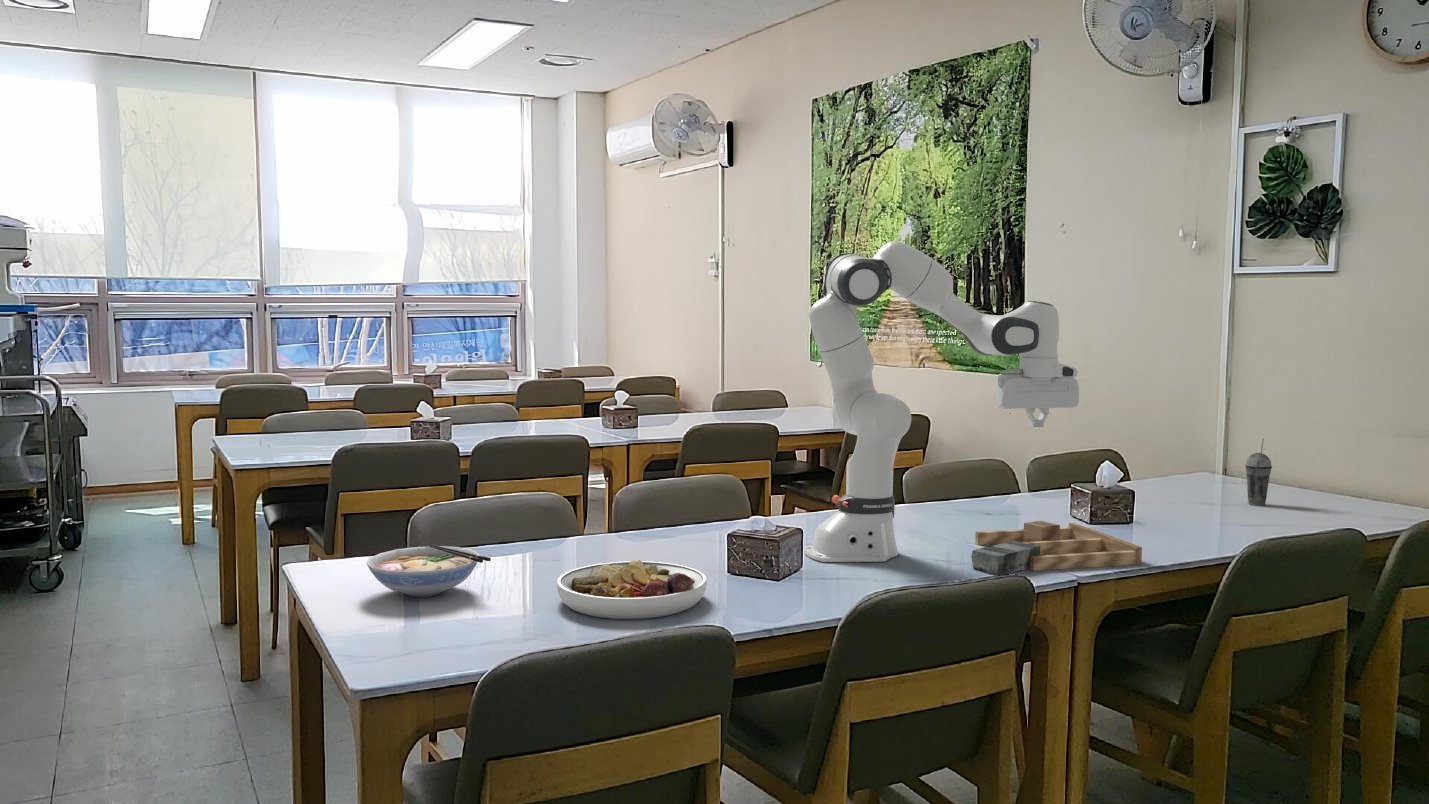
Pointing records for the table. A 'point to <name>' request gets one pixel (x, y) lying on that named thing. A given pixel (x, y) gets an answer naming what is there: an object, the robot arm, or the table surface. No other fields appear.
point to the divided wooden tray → (1071, 548)
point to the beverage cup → (1258, 477)
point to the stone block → (1004, 557)
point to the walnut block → (1041, 531)
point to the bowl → (631, 589)
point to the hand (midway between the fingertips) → (1036, 426)
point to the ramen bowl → (424, 568)
